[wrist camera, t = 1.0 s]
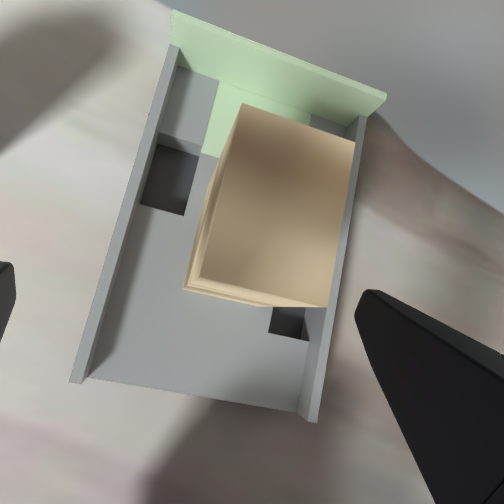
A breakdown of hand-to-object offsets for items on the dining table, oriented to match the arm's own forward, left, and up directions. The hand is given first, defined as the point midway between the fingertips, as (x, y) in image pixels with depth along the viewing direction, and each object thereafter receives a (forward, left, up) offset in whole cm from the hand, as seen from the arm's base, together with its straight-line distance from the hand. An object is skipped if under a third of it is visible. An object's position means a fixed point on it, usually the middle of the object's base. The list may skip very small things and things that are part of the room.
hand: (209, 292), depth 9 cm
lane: (+5, -2, -15) cm, 16 cm away
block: (+4, -2, -13) cm, 14 cm away
